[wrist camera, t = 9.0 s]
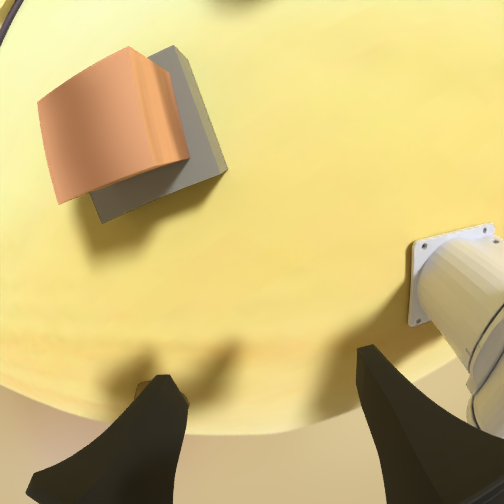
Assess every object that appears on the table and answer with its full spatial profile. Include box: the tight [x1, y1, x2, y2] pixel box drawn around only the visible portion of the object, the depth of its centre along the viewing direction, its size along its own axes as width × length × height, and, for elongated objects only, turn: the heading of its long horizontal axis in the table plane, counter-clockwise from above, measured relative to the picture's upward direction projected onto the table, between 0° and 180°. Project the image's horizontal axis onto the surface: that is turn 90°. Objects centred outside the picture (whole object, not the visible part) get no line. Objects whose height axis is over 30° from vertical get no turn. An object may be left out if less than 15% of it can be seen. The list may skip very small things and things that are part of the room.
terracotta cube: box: [37, 46, 190, 205], centre depth 11 cm, size 5×5×5 cm
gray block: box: [90, 45, 228, 224], centre depth 15 cm, size 8×8×4 cm
